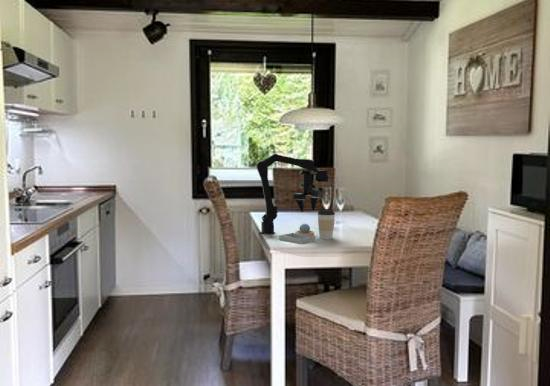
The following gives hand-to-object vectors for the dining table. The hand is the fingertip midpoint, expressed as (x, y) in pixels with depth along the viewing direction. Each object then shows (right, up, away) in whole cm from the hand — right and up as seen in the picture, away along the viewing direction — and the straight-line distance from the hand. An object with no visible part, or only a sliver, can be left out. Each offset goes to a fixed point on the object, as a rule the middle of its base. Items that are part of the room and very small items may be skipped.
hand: (307, 211), depth 289 cm
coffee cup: (+9, -14, -13) cm, 21 cm away
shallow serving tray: (-7, -14, -20) cm, 25 cm away
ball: (-2, -12, -7) cm, 14 cm away
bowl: (-2, -13, -7) cm, 14 cm away
